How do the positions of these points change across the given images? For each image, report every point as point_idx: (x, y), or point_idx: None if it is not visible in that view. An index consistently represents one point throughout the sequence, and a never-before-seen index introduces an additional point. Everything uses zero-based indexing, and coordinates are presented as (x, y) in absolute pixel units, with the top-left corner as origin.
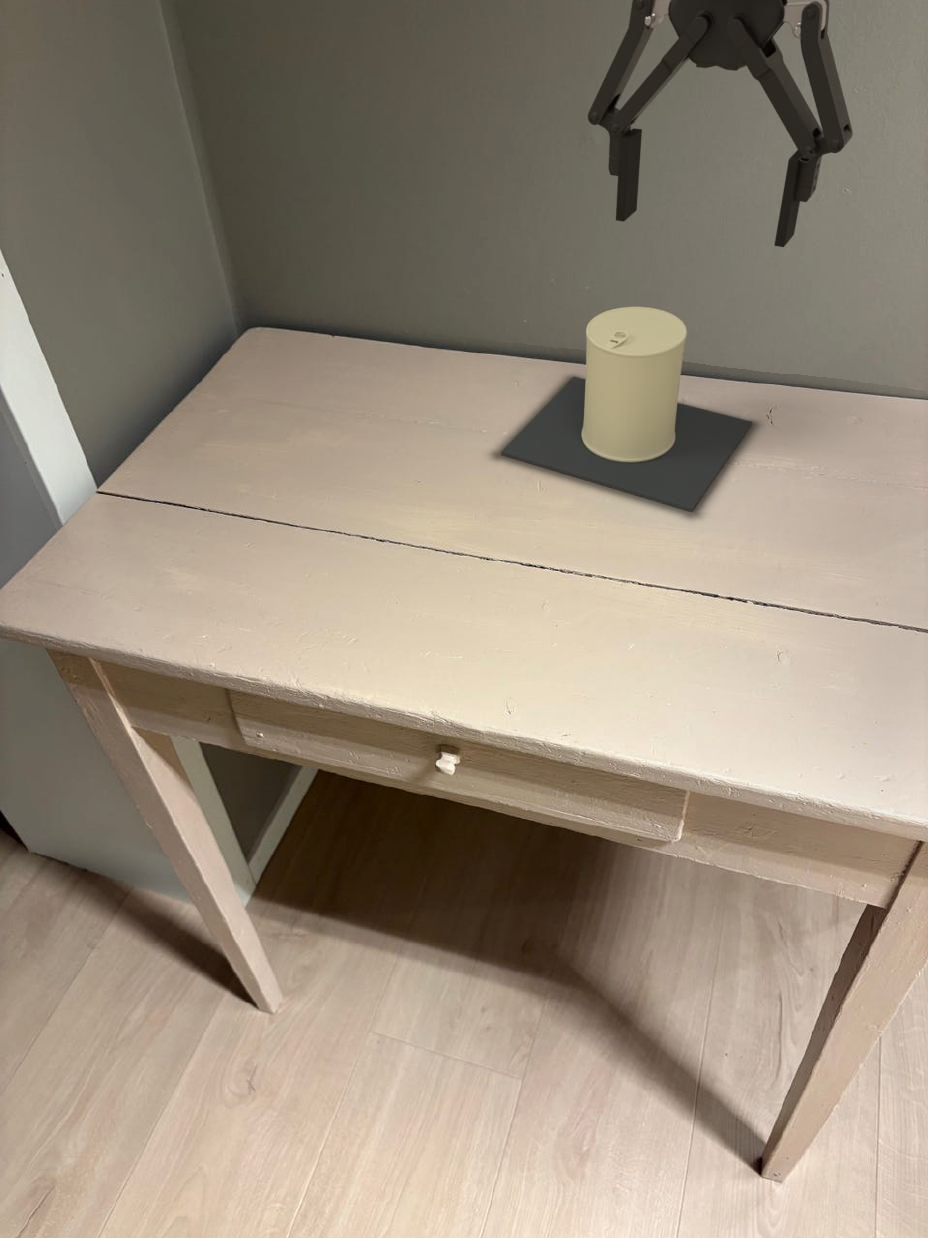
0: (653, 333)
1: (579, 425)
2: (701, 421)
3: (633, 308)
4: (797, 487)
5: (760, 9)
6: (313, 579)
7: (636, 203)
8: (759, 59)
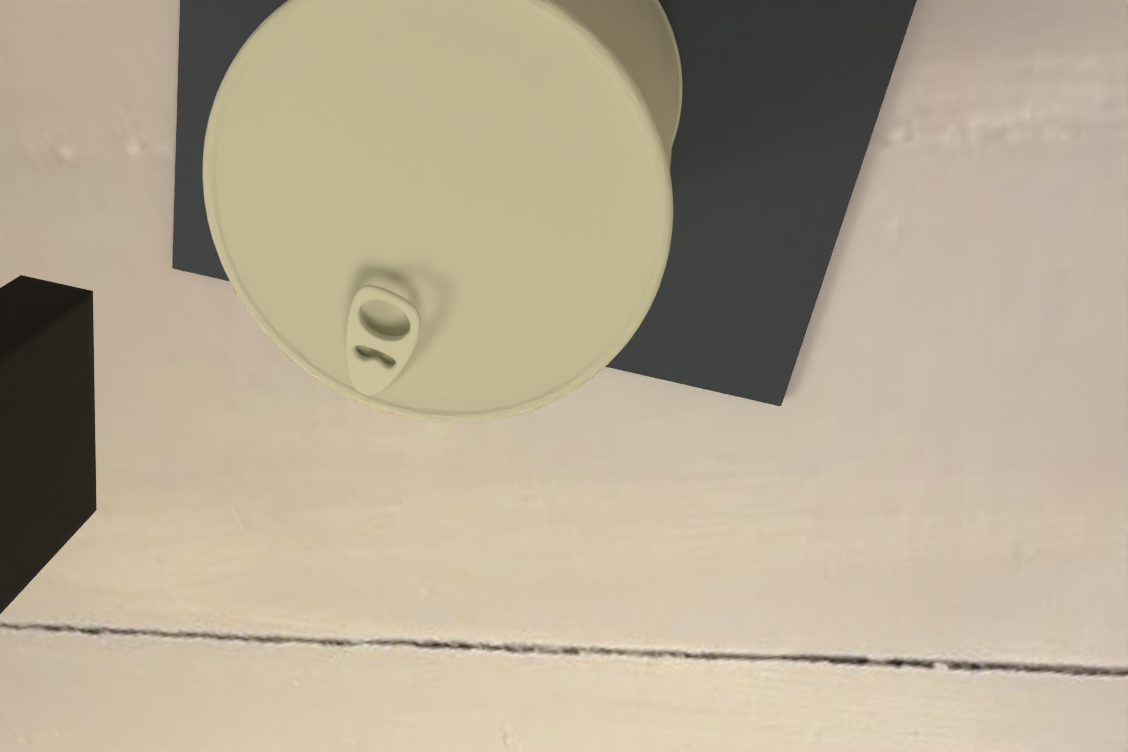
0: (518, 223)
1: None
2: None
3: None
4: (1100, 219)
5: None
6: (41, 746)
7: (62, 331)
8: None
